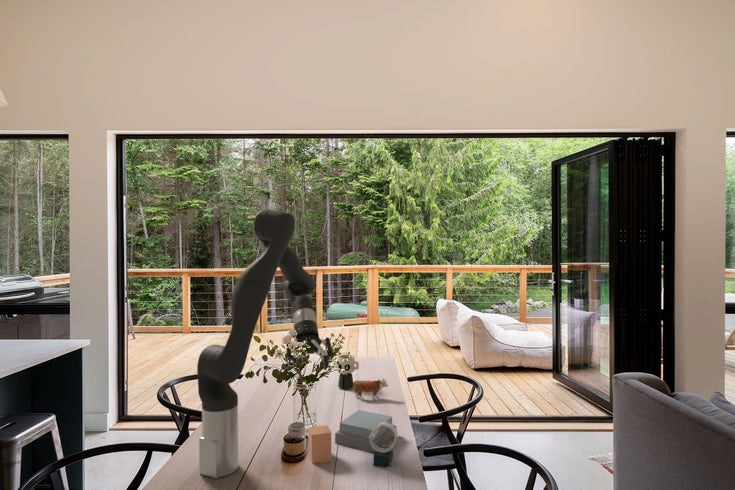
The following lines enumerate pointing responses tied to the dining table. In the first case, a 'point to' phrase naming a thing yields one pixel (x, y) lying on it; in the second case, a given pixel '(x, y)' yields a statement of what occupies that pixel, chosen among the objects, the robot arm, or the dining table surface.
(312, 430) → the terracotta brick
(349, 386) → the character mug
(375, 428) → the grey ring on block
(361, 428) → the two-tier stepped box
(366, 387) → the bull figurine
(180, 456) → the dining table surface
